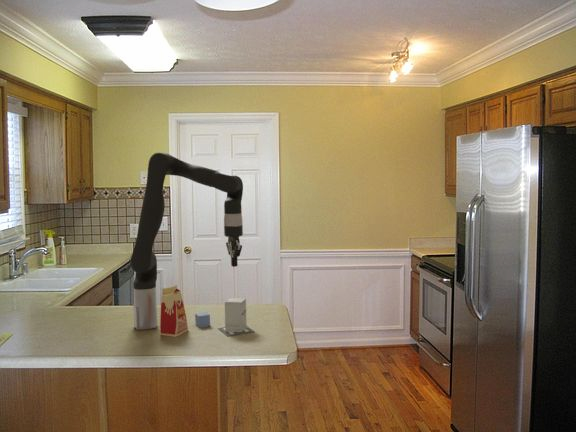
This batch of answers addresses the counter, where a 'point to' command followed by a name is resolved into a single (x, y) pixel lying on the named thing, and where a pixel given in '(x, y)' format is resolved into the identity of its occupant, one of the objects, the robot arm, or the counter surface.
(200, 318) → the slate blue cube
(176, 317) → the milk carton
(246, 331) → the letter mat
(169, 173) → the robot arm
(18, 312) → the counter surface
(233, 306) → the supplement box
